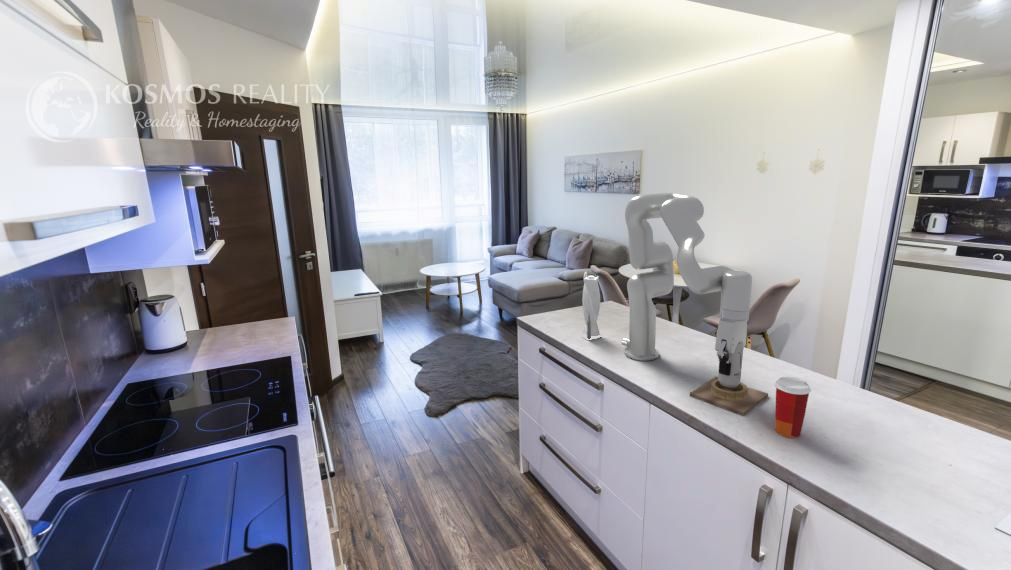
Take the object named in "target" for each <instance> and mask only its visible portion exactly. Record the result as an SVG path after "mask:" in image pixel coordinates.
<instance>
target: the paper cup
mask: <svg viewBox="0 0 1011 570" xmlns="http://www.w3.org/2000/svg"><path fill="white" fill-rule="evenodd" d="M774 387H775V410H774V411H775V412H774V413H775V416H774V419H775V420H774V421H775V422H774V429H775V433H776V434H778V435H780V436H783V437H785V438H789V439H797V438H799V437H800V436H801V434H802V431H803V430H802V429H803V425H804V424H803V423H804V420H805V416H806V413H807V412H806V410H807V406H808V399H809V394H810V393H811V392H812V389H811V387H810V385H809V383H807V381H805V380H803V379H800V378H797V377H793V376H792V377H791V376H781V377H779V378H778V379H777V380H776V381H775V383H774Z"/></svg>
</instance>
